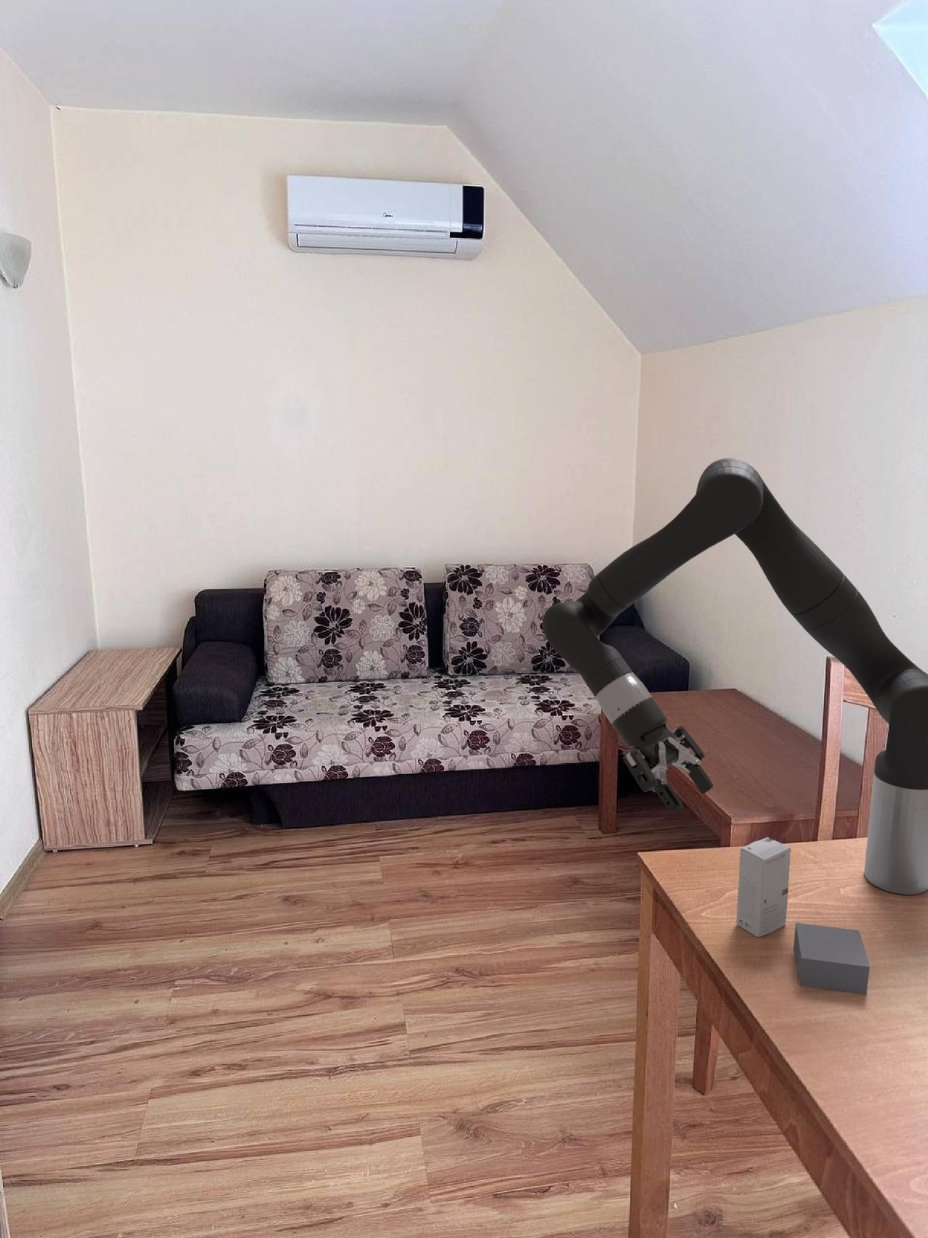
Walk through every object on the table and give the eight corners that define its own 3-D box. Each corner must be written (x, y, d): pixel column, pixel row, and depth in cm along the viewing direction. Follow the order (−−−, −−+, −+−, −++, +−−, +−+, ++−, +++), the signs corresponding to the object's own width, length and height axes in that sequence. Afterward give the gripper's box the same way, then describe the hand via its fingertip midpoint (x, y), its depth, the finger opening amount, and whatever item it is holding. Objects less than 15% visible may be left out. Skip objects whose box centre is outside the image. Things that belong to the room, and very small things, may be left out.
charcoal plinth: (793, 948, 121) (795, 922, 120) (856, 956, 119) (859, 930, 118) (799, 985, 114) (801, 958, 113) (866, 994, 112) (869, 967, 111)
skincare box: (759, 939, 123) (765, 861, 120) (733, 924, 127) (738, 847, 124) (787, 924, 126) (793, 848, 124) (762, 910, 130) (767, 835, 127)
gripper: (618, 708, 129) (684, 805, 123) (671, 685, 138) (734, 773, 133) (588, 733, 133) (650, 827, 128) (641, 709, 143) (701, 795, 138)
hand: (693, 799), depth 131 cm, fingers open, 8 cm apart
